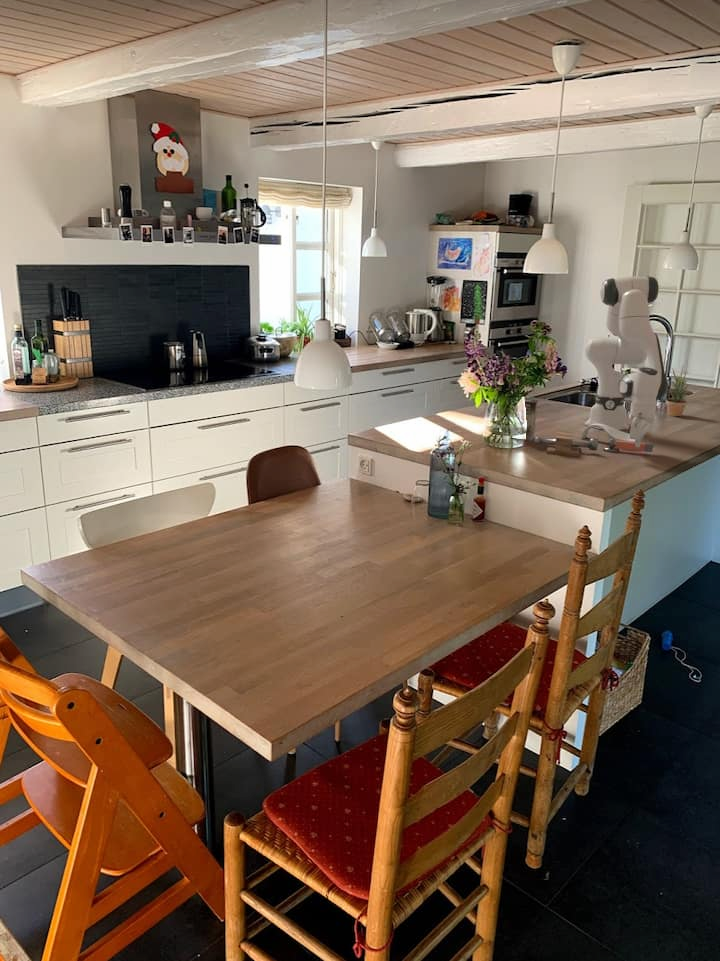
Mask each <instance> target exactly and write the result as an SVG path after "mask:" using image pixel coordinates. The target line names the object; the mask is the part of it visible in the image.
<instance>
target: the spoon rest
mask: <svg viewBox="0 0 720 961" xmlns="http://www.w3.org/2000/svg"><path fill="white" fill-rule="evenodd" d="M594 427H599V428H602V429H601V430H603V431H604V432H605V433H606V435H607V436H608V438H609V440H610V439H615V440H614V446H616V440H619V441H628V442H635V439H630V433H628V432H624V431H621V430H617V429H614V428H612V427H610V426H607V425H604V424H592V425H590V426H587V425H586V427H585V428H584V429H583V431H582V432H581V434H580V439H581V440H583V439H586V438H587V436H588V433H589V430H591V429H593V428H594Z"/></svg>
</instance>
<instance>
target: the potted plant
mask: <svg viewBox="0 0 720 961" xmlns="http://www.w3.org/2000/svg"><path fill="white" fill-rule="evenodd" d="M683 368H684V365H682V367H681V371H680V375H679V374H677V375H676V373H675V370H674V367H672V373H673V374H672V375H673V378H674V381H675V382H674V381H673V379H671V383H672V386H673V388H672V390H671V389H668V391H669V392H670V396H672V397H671V398H666V399H665V404H666V408H667V409H666V410H667V415H668V416H669V415H671V416H670V417H673V416H680V417H682V415H683V412H684V410H685V408H686V406H687V405H688V401H687V400H686V397H687V394H688V392H689V390H688V387H689V384H688V385H687V386H685V385H686V384H687V381H688V379H686V380H685V378H686V375H687V372H685V374H684V376H683V372H684V370H683ZM682 377H683V378H682Z"/></svg>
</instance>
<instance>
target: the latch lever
mask: <svg viewBox="0 0 720 961" xmlns="http://www.w3.org/2000/svg"><path fill="white" fill-rule="evenodd" d="M635 443H636V442H628V441H619V440H616V445H615V446H614V447H615V448H616V449H619V450H627V451H637V452H647V453H648V452H649V453H653V449H654V444H653V443H647V442H642V443H641V446H640V447H635Z"/></svg>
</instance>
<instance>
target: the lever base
mask: <svg viewBox="0 0 720 961" xmlns="http://www.w3.org/2000/svg"><path fill="white" fill-rule="evenodd" d="M614 440H615V439H610V438H609V445H608V446H603V447H602V451H603V452H607V453H619V452H620V449H616V448H615V447H616V446H615V444H614Z"/></svg>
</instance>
